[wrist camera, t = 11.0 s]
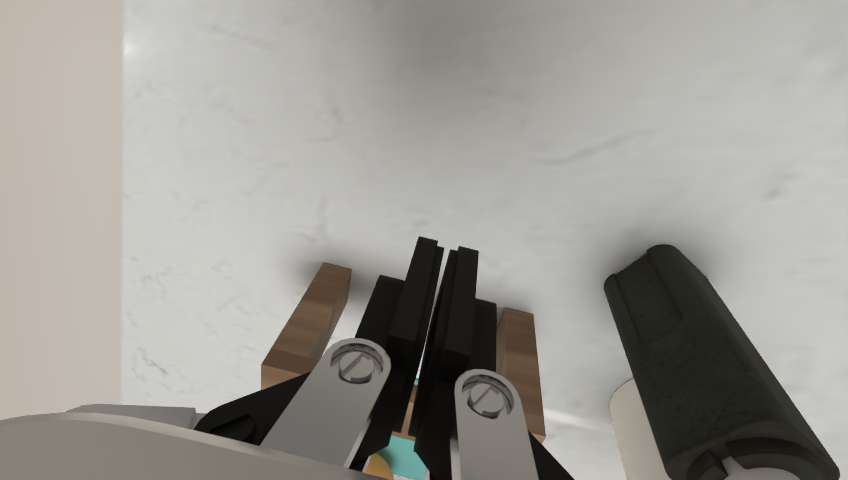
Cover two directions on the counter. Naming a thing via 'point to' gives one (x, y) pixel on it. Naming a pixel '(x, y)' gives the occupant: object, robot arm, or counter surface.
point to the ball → (379, 467)
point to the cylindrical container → (635, 435)
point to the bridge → (513, 362)
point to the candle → (706, 380)
